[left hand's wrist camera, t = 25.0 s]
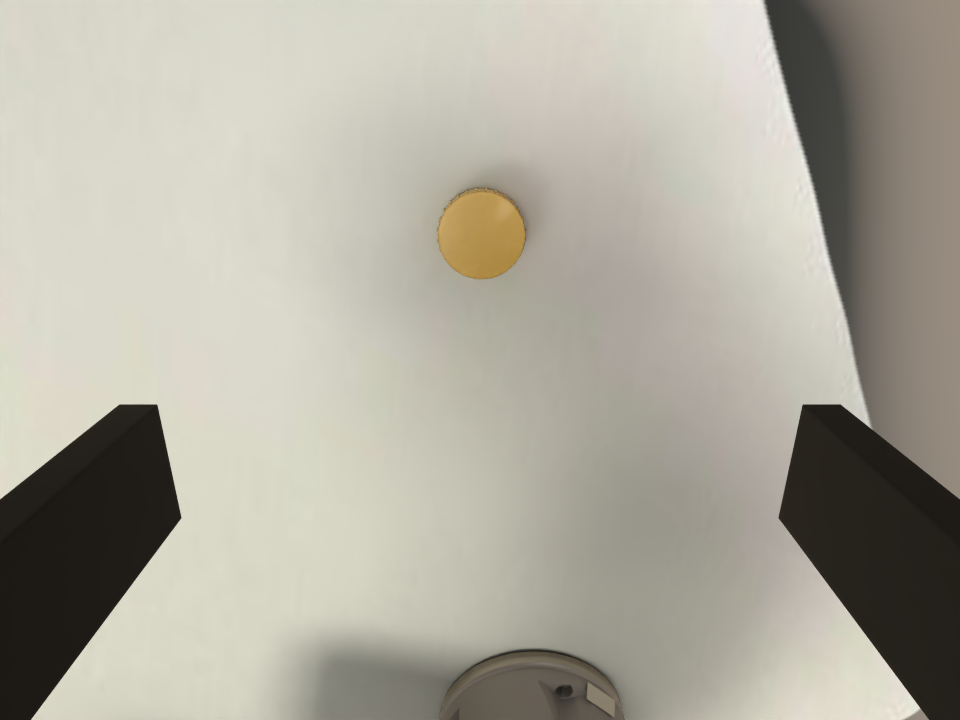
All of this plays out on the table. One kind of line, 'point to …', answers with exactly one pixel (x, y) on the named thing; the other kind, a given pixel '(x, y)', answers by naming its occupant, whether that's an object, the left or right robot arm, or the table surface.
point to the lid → (481, 233)
